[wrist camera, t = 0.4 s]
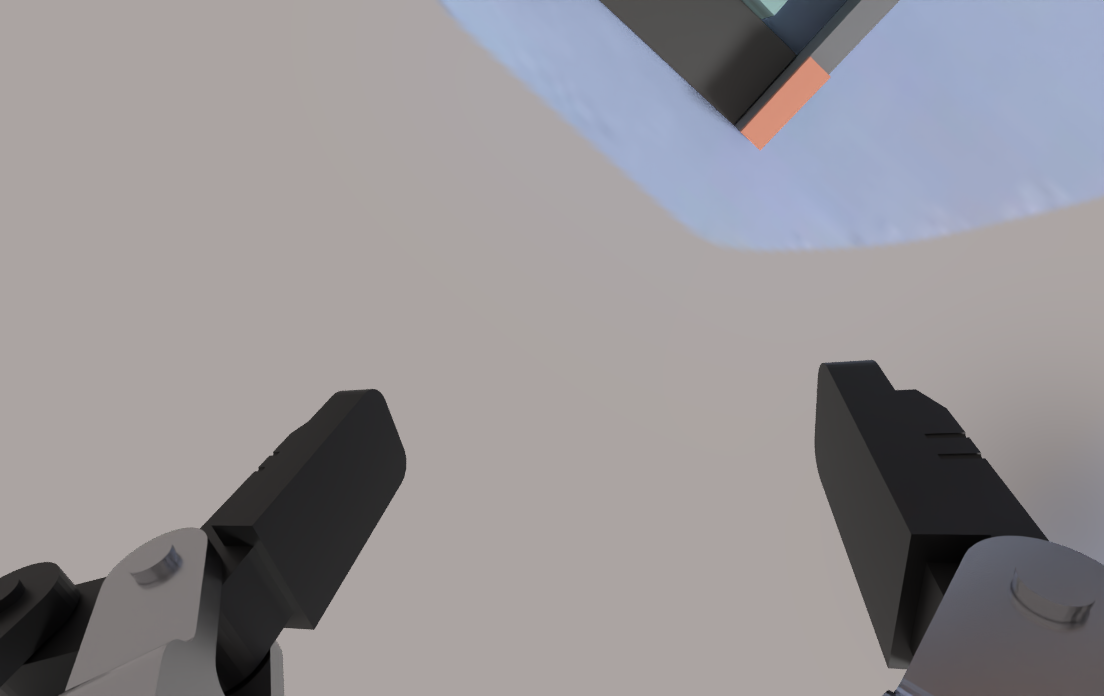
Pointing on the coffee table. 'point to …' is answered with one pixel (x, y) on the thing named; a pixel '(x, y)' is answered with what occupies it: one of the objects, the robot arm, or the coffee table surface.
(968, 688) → the robot arm
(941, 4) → the coffee table surface
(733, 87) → the open tray box
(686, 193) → the coffee table surface
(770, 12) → the teal block
